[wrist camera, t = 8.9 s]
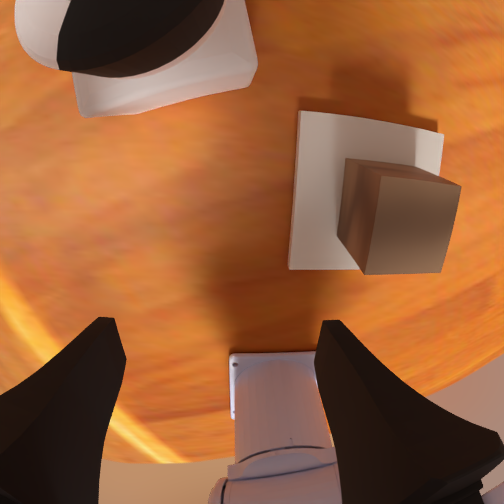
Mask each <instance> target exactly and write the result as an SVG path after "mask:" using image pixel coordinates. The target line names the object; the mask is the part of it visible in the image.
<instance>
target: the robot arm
mask: <svg viewBox="0 0 504 504" xmlns="http://www.w3.org/2000/svg"><path fill="white" fill-rule="evenodd" d="M235 363H236V364H235ZM125 365H126V356H125V353H124V349H123V346H122V343H121V340H120V336H119V333H118V330H117V326H116V323H115V319H114V318H108V317H98V318H97V319H96V320H95V321H93V322H92V323H91V324H90V325H89V326H88V327H87V328H86V329H85V330H83V331H82V332H81V333H80V334H79V335H78V336H77V337H76V338H75V339H74V340H73V341H71V342H70V343H69V344H68V345H67V346H66V347H65V348H64V349H63V350H62V351H60V352H59V353H58V354H57V355H56V356H54V357H53V358H52V359H51V360H50V361H49V362H47V363H46V364H45V365H44V366H43V367H41V368H40V369H39V370H38V371H36V372H35V373H34V374H32V375H31V376H30V377H28V378H27V379H25V380H24V381H23V382H21V383H20V384H18V385H17V386H15V387H13V388H12V389H10V390H8V391H7V392H5V393H3V394H2V395H0V504H98V498H99V497H98V496H99V478H100V467H101V459H102V452H103V446H104V440H105V436H106V432H107V429H108V425H109V422H110V419H111V416H112V412H113V409H114V406H115V403H116V400H117V397H118V394H119V391H120V388H121V384H122V380H123V375H124V370H125ZM229 377H230V408H231V418H232V419H235V464H233V465H228V477H224V478H220V479H219V480H218V481H217V483H216V484H215V486H214V487H213V488H212V490H211V492H210V495H209V501H208V504H504V482H502V483H501V484H499V485H498V486H496V487H495V488H493V489H491V490H490V491H488V492H486V493H485V494H483V495H482V496H481V495H480V492H479V490H480V489H481V488H483V484H482V481H481V478H483V477H484V476H485V475H487V474H488V473H489V472H490V471H491V470H493V469H494V468H495V467H496V466H497V465H499V464H500V463H501V462H502V461H503V460H504V444H503V442H502V441H501V439H500V437H499V435H498V433H497V432H495V431H492V430H489V429H487V428H484V427H481V426H479V425H476V424H473V423H471V422H469V421H466V420H464V419H462V418H460V417H458V416H456V415H454V414H452V413H450V412H448V411H446V410H445V409H443V408H441V407H439V406H438V405H436V404H434V403H433V402H431V401H430V400H428V399H427V398H425V397H424V396H422V395H421V394H419V393H418V392H416V391H415V390H414V389H412V388H411V387H410V386H408V385H407V384H406V383H404V382H403V381H402V380H401V379H399V378H398V377H397V376H396V375H395V374H394V373H393V372H391V371H390V370H389V369H388V368H387V367H386V366H385V365H384V364H382V363H381V362H380V361H379V360H378V359H377V358H376V357H375V356H374V355H373V354H372V353H371V352H370V351H369V350H368V349H367V348H366V347H365V346H364V345H363V344H362V343H361V342H360V341H359V340H358V339H357V338H356V337H355V335H354V334H353V333H352V332H351V331H350V330H349V329H348V328H347V327H346V326H345V325H344V324H343V323H342V322H341V321H340V320H324V321H323V322H322V326H321V331H320V336H319V340H318V345H317V349H316V351H311V352H289V353H234V354H231V355H230V356H229ZM318 390H319V392H318ZM319 393H320V395H319ZM320 396H321V399H320ZM321 400H322V403H323V407H324V410H325V413H326V417H327V420H328V423H329V427H330V430H331V433H332V437H333V441H334V445H335V447H332V444H331V440H330V436H329V432H328V427H327V423H326V419H325V415H324V411H323V407H322V403H321Z"/></svg>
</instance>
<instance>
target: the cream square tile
mask: <svg viewBox="0 0 504 504" xmlns="http://www.w3.org/2000/svg"><path fill="white" fill-rule="evenodd" d="M443 140H444V134H440V133H436V132H432V131H428V130H424V129H419V128H415V127H410V126H406V125H401V124H395V123H390V122H385V121H379V120H373V119H367V118H361V117H354V116H346V115H339V114H330V113H321V112H311V111H298V127H297V145H296V162H295V177H294V192H293V205H292V218H291V230H290V242H289V253H288V267H289V270H355V269H360V268H359V266H358V265H357V264H356V262H355V261H354V259H353V258H352V257H351V255H350V254H349V252H348V251H347V250H346V248H345V247H344V245H343V244H342V243H341V241H340V240H339V239H338V237H337V229H338V222H339V214H340V206H341V197H342V188H343V178H344V168H345V158H351V159H361V160H371V161H379V162H387V163H395V164H403V165H410V166H416V167H418V168H421V169H423V170H425V171H428V172H430V173H433V174H435V175H437V176H439V171H440V164H441V157H442V149H443Z"/></svg>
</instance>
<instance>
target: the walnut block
mask: <svg viewBox="0 0 504 504" xmlns="http://www.w3.org/2000/svg"><path fill="white" fill-rule="evenodd" d="M460 192H461V186H460V185H457V184H455V183H453V182H451V181H449V180H446V179H444V178H442V177H440V176H437V175H435V174H433V173H430V172H428V171H425V170H423V169H421V168H418V167H416V166H410V165H403V164H395V163H387V162H379V161H371V160H361V159H351V158H345V168H344V178H343V188H342V197H341V206H340V214H339V222H338V229H337V237H338V239H339V240H340V241H341V243H342V244H343V245H344V247H345V248H346V250H347V251H348V252H349V254H350V255H351V257H352V258H353V259H354V261H355V262H356V264H357V265H358V266H359V268H360V269H361V271H362V272H363V274H364V275H382V274H417V273H441V270H442V266H443V263H444V259H445V256H446V252H447V249H448V245H449V241H450V237H451V233H452V229H453V225H454V221H455V216H456V212H457V207H458V202H459V197H460Z"/></svg>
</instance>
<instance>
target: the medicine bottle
mask: <svg viewBox="0 0 504 504" xmlns="http://www.w3.org/2000/svg"><path fill="white" fill-rule="evenodd" d="M15 27H16V33H17V36H18V39H19V42H20V43H21V45H22V47H23V49H24V50H25V51H26V52H27V54H28V55H29V56H30V57H31V58H33V59H34V60H35V61H37V62H38V63H40V64H42V65H44V66H46V67H49V68H53V69H57V70H63V71H69V72H72V76H73V82H74V88H75V93H76V99H77V104H78V109H79V113H80V115H81V116H83V117H85V118H92V117H102V116H114V115H129V114H139V113H143V112H146V111H149V110H153V109H156V108H159V107H163V106H166V105H170V104H174V103H178V102H181V101H185V100H189V99H193V98H198V97H202V96H206V95H211V94H215V93H220V92H225V91H230V90H235V89H241V88H246V87H248V86H249V85H250V84H251V82H252V79H253V77H254V74H255V72H256V70H257V67H258V60H257V55H256V50H255V45H254V41H253V36H252V31H251V27H250V22H249V18H248V13H247V9H246V5H245V0H16V2H15Z"/></svg>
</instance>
